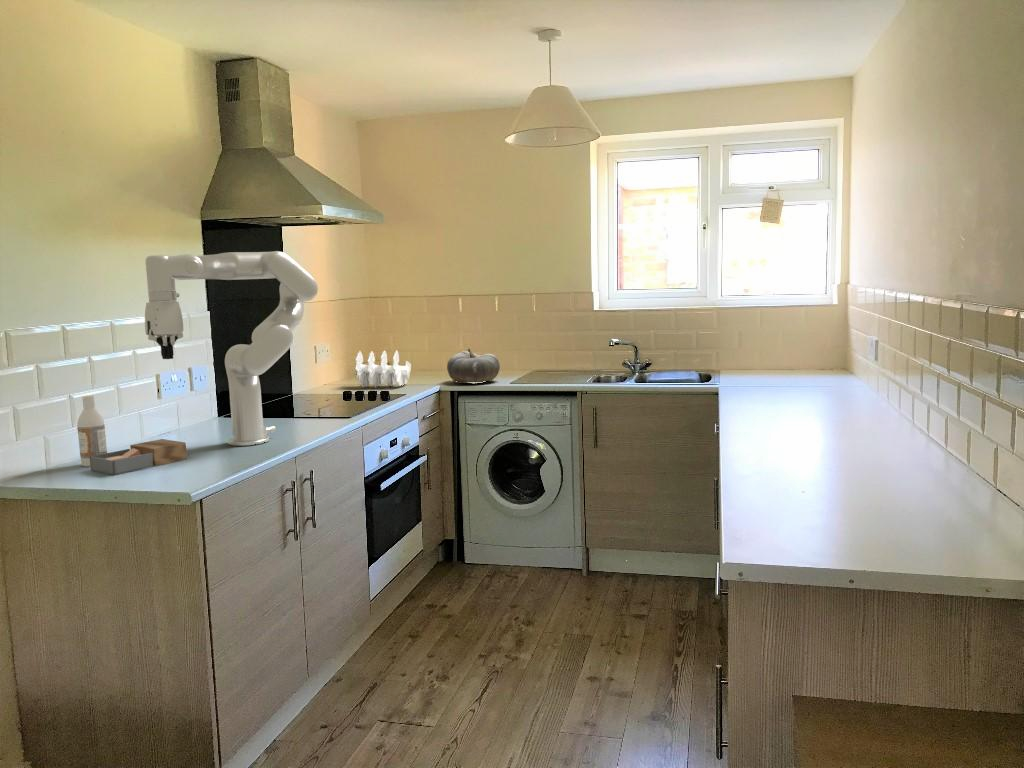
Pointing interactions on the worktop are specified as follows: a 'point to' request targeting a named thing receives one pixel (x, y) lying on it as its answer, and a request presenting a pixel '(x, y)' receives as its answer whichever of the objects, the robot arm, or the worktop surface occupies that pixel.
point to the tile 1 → (131, 453)
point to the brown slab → (163, 450)
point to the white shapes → (381, 370)
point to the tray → (120, 463)
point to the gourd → (473, 367)
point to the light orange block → (115, 458)
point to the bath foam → (90, 432)
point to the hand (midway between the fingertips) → (167, 358)
